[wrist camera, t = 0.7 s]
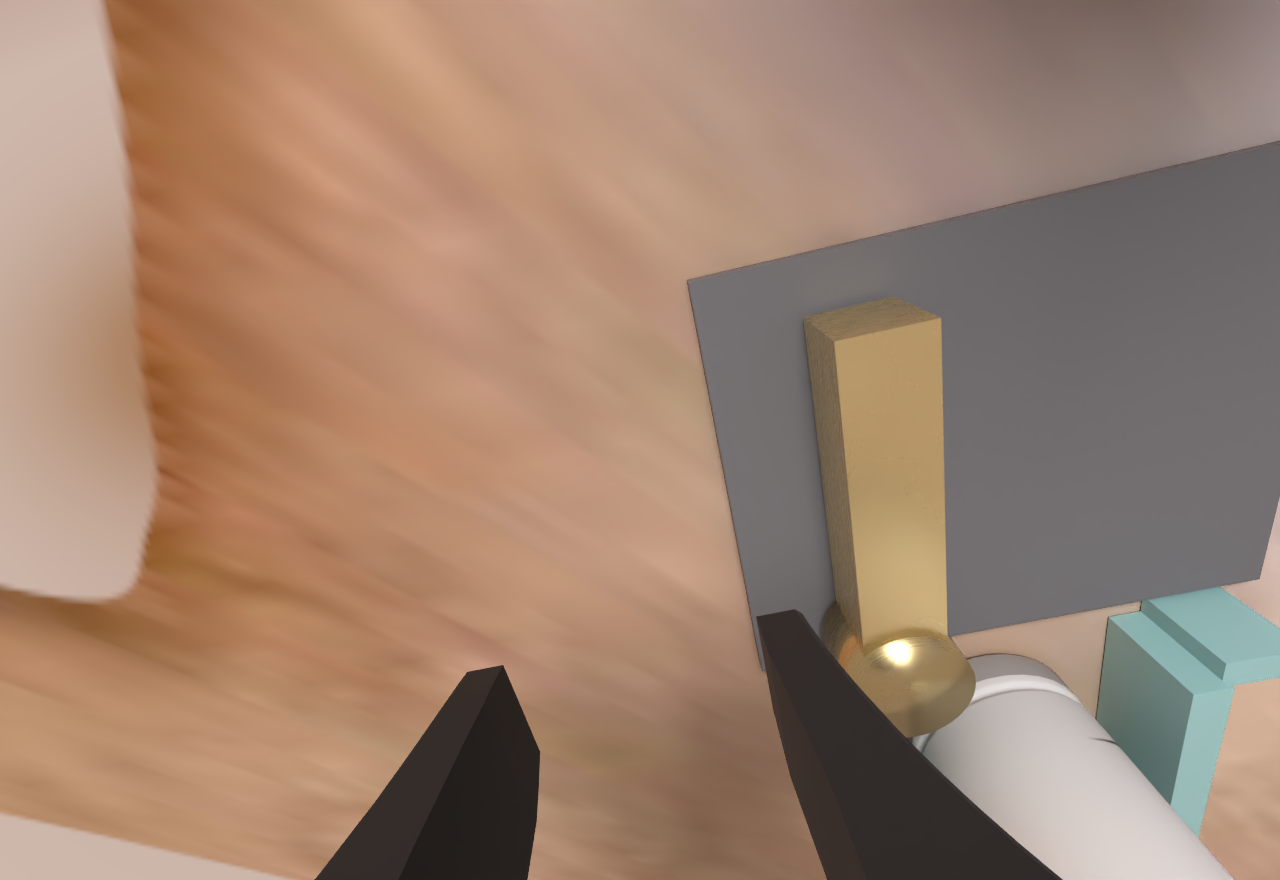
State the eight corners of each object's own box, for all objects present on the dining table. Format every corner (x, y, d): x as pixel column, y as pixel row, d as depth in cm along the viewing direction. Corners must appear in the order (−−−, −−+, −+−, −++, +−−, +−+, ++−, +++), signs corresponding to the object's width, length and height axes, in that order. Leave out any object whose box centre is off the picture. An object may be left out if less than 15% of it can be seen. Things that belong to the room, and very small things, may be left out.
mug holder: (1214, 582, 21) (1320, 656, 18) (1176, 763, 25) (1258, 851, 21) (822, 655, 22) (856, 737, 19) (844, 818, 26) (875, 910, 22)
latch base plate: (1348, 124, 15) (1371, 123, 15) (1245, 570, 21) (1259, 579, 20) (686, 280, 16) (688, 283, 16) (759, 661, 22) (762, 671, 21)
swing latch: (929, 653, 21) (975, 726, 18) (826, 672, 21) (857, 746, 18) (916, 291, 16) (977, 315, 13) (780, 321, 16) (812, 352, 13)
